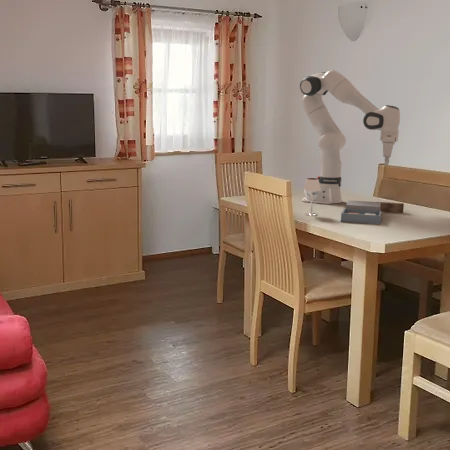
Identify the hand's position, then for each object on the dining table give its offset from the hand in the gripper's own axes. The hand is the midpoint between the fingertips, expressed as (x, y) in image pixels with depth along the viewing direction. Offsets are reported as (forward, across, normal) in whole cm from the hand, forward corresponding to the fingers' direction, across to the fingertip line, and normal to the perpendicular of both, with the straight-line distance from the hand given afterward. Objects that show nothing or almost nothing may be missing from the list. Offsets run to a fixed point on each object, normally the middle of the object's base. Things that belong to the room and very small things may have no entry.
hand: (386, 164), depth 316 cm
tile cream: (+21, +33, -5) cm, 40 cm away
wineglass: (+25, +27, -34) cm, 50 cm away
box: (+24, +34, -9) cm, 42 cm away
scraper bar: (+24, +6, +4) cm, 25 cm away
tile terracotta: (+21, +35, -12) cm, 42 cm away
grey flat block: (+24, +20, -9) cm, 32 cm away
